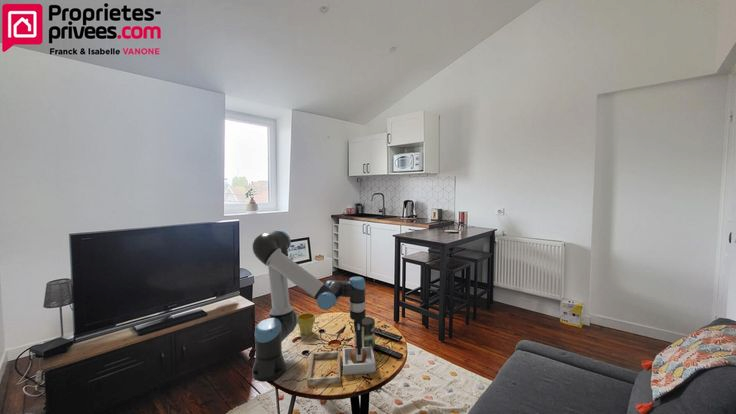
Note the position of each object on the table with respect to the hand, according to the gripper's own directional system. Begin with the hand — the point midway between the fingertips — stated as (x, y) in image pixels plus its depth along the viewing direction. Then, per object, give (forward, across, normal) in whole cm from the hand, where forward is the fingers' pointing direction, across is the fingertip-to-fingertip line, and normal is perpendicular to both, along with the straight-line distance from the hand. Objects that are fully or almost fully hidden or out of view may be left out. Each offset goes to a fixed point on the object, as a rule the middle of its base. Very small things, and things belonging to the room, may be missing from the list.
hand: (358, 352), depth 144 cm
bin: (+6, 0, 0) cm, 6 cm away
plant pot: (+6, +36, +29) cm, 47 cm away
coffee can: (+6, +17, -5) cm, 19 cm away
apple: (+6, 0, 0) cm, 6 cm away
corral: (+6, -2, +16) cm, 17 cm away
